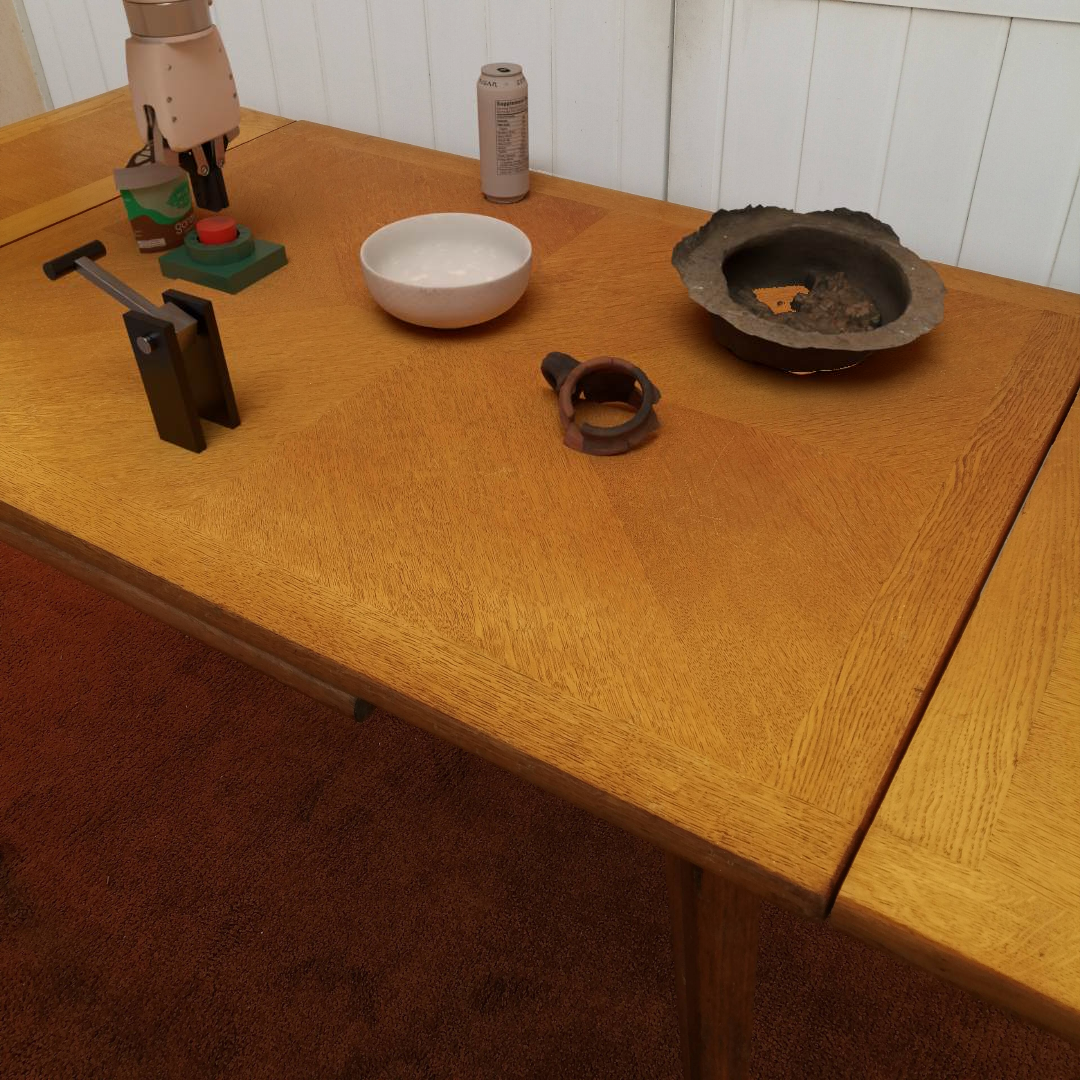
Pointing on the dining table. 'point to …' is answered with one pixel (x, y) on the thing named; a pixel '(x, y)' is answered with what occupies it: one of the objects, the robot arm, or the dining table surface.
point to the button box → (224, 261)
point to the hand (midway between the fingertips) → (213, 207)
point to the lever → (120, 289)
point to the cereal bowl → (447, 268)
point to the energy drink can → (503, 132)
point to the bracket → (183, 372)
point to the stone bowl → (808, 285)
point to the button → (216, 230)
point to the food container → (156, 202)
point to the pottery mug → (601, 400)
